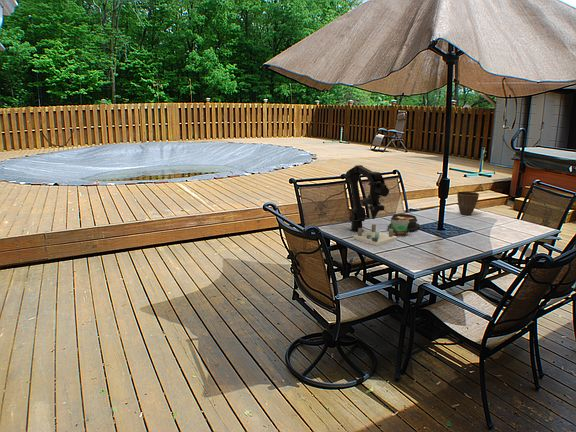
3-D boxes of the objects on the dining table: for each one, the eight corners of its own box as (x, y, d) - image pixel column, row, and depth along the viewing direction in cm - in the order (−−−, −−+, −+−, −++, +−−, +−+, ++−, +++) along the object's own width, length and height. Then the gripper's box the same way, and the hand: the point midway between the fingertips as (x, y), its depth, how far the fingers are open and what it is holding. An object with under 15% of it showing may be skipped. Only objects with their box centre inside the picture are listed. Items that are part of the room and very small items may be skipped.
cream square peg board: (353, 238, 262) (353, 228, 260) (372, 233, 273) (373, 223, 271) (377, 245, 248) (378, 235, 246) (396, 239, 259) (397, 229, 258)
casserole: (404, 235, 269) (405, 222, 267) (380, 229, 282) (380, 216, 280) (426, 228, 284) (427, 215, 282) (402, 222, 298) (403, 210, 296)
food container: (394, 237, 264) (395, 221, 262) (389, 234, 270) (390, 219, 267) (412, 235, 267) (413, 220, 265) (407, 233, 273) (408, 217, 271)
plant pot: (480, 216, 314) (483, 195, 310) (461, 217, 312) (464, 195, 308) (469, 211, 329) (472, 191, 325) (451, 212, 327) (453, 191, 323)
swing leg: (365, 237, 256) (365, 229, 255) (368, 236, 257) (369, 228, 256) (376, 241, 249) (377, 233, 248) (379, 240, 251) (380, 232, 250)
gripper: (356, 191, 264) (355, 215, 268) (367, 197, 246) (365, 223, 250) (373, 190, 266) (372, 214, 270) (385, 196, 248) (384, 222, 252)
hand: (373, 218), depth 260 cm, fingers closed
